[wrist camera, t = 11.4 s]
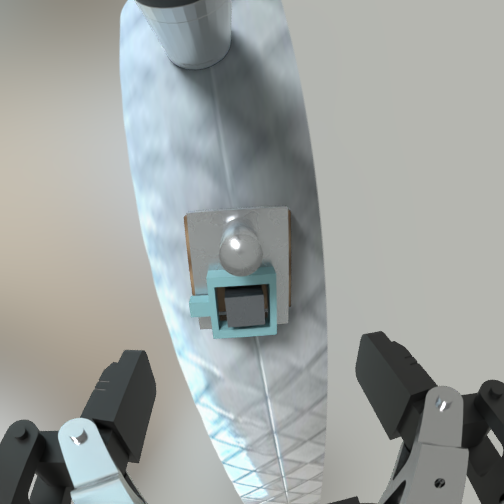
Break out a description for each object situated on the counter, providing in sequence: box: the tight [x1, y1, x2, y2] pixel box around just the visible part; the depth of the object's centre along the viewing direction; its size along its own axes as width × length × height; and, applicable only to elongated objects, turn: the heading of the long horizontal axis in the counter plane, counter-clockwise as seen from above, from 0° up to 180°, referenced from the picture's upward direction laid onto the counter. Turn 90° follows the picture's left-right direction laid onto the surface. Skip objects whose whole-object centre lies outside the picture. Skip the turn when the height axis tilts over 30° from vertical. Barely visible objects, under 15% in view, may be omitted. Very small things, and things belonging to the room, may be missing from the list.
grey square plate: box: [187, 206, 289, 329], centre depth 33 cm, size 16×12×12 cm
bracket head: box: [189, 267, 277, 339], centre depth 35 cm, size 8×11×2 cm
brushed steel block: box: [225, 284, 265, 328], centre depth 36 cm, size 4×4×7 cm
